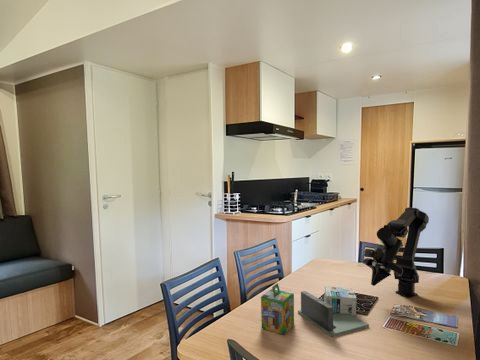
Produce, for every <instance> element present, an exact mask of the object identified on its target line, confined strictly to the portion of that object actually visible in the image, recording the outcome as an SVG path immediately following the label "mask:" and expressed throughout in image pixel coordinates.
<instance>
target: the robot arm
mask: <svg viewBox="0 0 480 360" xmlns="http://www.w3.org/2000/svg"><path fill="white" fill-rule="evenodd" d="M428 224H429V215H428V214H427V213H426V212H424V211H422V210H420V209H419V208H417V207H409V206H408V207H406V208H405V210H404V211H403V212H402V214H401V215H400V216H399V217H398V218H396V219H394V220H390V222H387V224H384V225H383V227H380V228H379V229H378V230H377V232H376V237H377V239H378V240H379V241H380V242H381V243H382V245H383V246H382V248H380V247H375V248H374V249H371V248H365V249H364V255H363V256H364V257H365V258H364V260H363V261H362V264H363V265H365V266H367V267H369V269H371V273H372V274H371V282H370V284H371V285H372V286H374V287H375V286H376V285H377V284H379V283H380V282H382V281H383V280H385V279H386V278H388V277H390V276H392V274H391V272H393V275H394V276H393V277H394V279H395V280H398V284H397V290H395V291H394V292H395V293H396V294H399V295H401V296H403V297H405V298H412V297H415V296H418V295H419V294H418V292H415V288H416V287H415V286H416V285H415V284H418V283H420V282H419V280H420V275H419V273H418V271H417V267H416V264H415V258H416V257H415V256H416V253H417V249H418V244H419V240H420V236H421V233H422V232H423V231H424V230H425V229H427V228H426V227H427V225H428ZM406 236H407V237H406ZM405 237H406V241H405V245H403V241H402V240H401V239H399V238H403V239H404V238H405ZM403 246H404V249H403V253H402V256H401V257H399V256H397V255H398V253H399V252H400V249H401V248H402V247H403ZM395 260H396V261H395ZM394 261H395V262H394Z"/></svg>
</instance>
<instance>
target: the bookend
mask: <svg viewBox="0 0 480 360" xmlns="http://www.w3.org/2000/svg"><path fill="white" fill-rule="evenodd" d="M300 310H301V313H303V314H304V315H305V316H307V317H308V318H310V319H311V320H313V321H314V322H315V323H317V324H318V325H320V326H321V327H323V328H324V329H326V330H327V331H328V332H329V331H332V330H333V328H336V326H334V325H333V307H332V306H331V305H329V304H327V303H325V302H324V300H322V299H320V298H318V297H317V296H315V295H314V294H311V293H310V292H308V291H306V290H303V291H300Z"/></svg>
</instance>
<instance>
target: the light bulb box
mask: <svg viewBox="0 0 480 360" xmlns="http://www.w3.org/2000/svg"><path fill="white" fill-rule="evenodd" d="M323 301H324V302H325V303H327V304H329V305H331V306H332V307H333V313H340V314H352V315H353V316H355V315H357V296H356V295H355V292H354V290H353V287H339V286H327V285H325V286H324V299H323Z"/></svg>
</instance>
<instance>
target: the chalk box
mask: <svg viewBox="0 0 480 360" xmlns="http://www.w3.org/2000/svg"><path fill="white" fill-rule="evenodd" d="M276 289H277V290H276ZM294 296H295V294H294V293H291V292H288V291H285V290H280V286H279V283H278V282H277V283H275V284H274V285H273V286H272V289H269V290H268V291H267V292H266V293H264V294H263V295H261V296H260V307H261V308H260V311H261V312H260V313H261V319H260V320H261V330H265V331H269V332H272V333H273V332H274V333H277V334H280V335H284V336H285V335H286V334H287V333H288V332H289V330H290V329H292V327H293V326H294V325H295V299H294V298H295V297H294Z"/></svg>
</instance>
